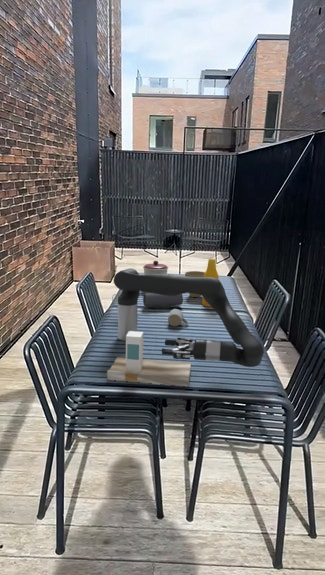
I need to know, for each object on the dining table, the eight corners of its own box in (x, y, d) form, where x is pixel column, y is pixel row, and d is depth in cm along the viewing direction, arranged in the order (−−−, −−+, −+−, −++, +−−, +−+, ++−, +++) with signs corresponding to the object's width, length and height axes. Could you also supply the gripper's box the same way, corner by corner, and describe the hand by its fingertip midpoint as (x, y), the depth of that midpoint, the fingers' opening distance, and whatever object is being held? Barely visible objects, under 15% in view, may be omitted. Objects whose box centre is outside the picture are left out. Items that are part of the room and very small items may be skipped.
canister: (158, 294, 265) (159, 263, 260) (137, 290, 275) (137, 260, 270) (172, 289, 280) (173, 260, 275) (151, 285, 290) (152, 257, 285)
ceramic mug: (167, 326, 202) (167, 312, 201) (168, 321, 210) (169, 308, 208) (187, 328, 201) (188, 314, 199) (188, 323, 209) (189, 309, 207)
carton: (128, 364, 151) (129, 331, 148) (142, 366, 151) (143, 331, 147) (125, 371, 146) (125, 336, 143) (140, 372, 145) (140, 337, 142)
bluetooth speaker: (177, 304, 244) (178, 288, 241) (183, 308, 235) (183, 292, 233) (142, 306, 237) (142, 290, 234) (146, 311, 228) (147, 294, 226)
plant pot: (191, 292, 273) (192, 270, 269) (210, 296, 264) (211, 273, 260) (179, 296, 261) (180, 273, 257) (198, 300, 252) (200, 276, 249)
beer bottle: (212, 307, 238) (215, 261, 231) (199, 304, 243) (201, 259, 236) (219, 304, 245) (222, 259, 238) (206, 301, 250) (209, 257, 243)
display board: (117, 362, 159) (117, 354, 158) (190, 368, 155) (191, 360, 154) (107, 380, 144) (107, 371, 143) (188, 387, 140) (188, 378, 139)
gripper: (208, 333, 149) (166, 330, 151) (207, 348, 135) (161, 344, 137) (207, 351, 150) (165, 348, 152) (206, 368, 137) (160, 364, 139)
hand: (163, 346), depth 145 cm, fingers open, 8 cm apart
